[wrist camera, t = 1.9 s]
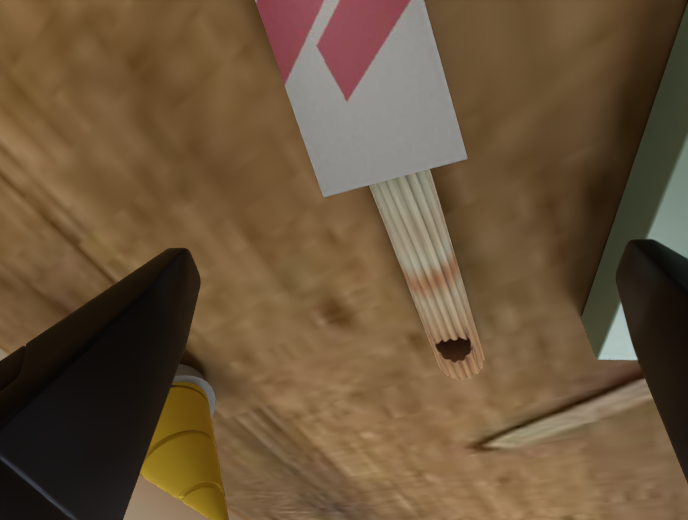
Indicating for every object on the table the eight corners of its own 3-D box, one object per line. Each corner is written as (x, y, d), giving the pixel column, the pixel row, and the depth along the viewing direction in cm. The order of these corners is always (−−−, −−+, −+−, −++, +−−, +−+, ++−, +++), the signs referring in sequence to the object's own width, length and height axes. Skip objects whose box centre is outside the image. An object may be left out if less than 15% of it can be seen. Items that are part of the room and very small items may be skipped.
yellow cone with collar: (112, 322, 22) (210, 470, 15) (201, 344, 26) (307, 467, 20) (53, 418, 22) (127, 605, 15) (151, 424, 26) (242, 574, 20)
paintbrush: (316, -583, 5) (513, 385, 18) (338, -466, 7) (501, 329, 20) (52, -377, 6) (414, 397, 19) (134, -325, 8) (412, 342, 21)
